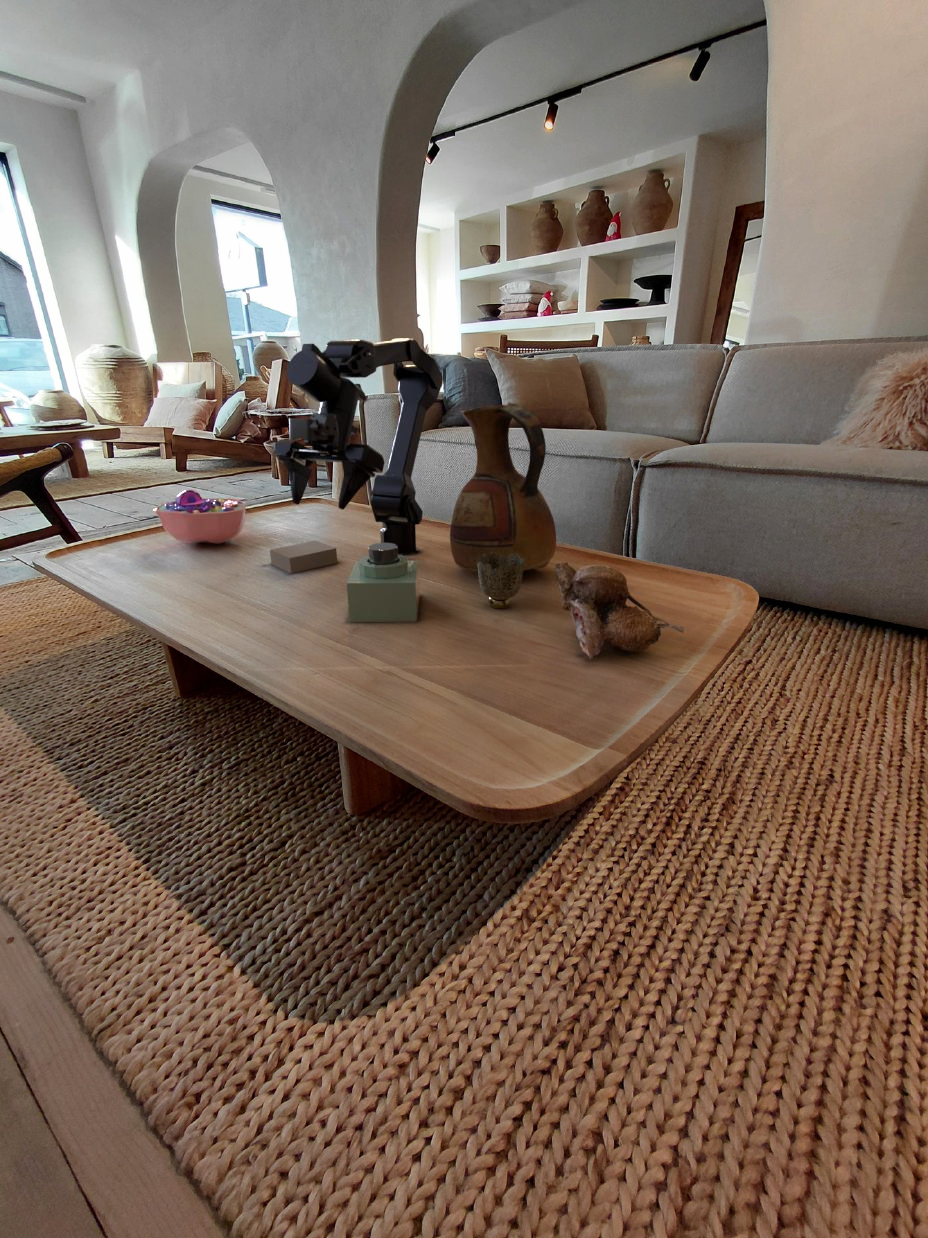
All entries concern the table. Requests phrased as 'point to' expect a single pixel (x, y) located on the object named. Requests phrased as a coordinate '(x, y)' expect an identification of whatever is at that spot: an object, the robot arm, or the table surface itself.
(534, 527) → the ceramic pitcher
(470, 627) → the table surface
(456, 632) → the table surface
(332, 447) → the robot arm
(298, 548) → the brown rectangular block
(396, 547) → the dark grey metal cylinder
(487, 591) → the cup
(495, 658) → the table surface
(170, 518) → the cell model
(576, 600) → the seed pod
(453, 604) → the table surface
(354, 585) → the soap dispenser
